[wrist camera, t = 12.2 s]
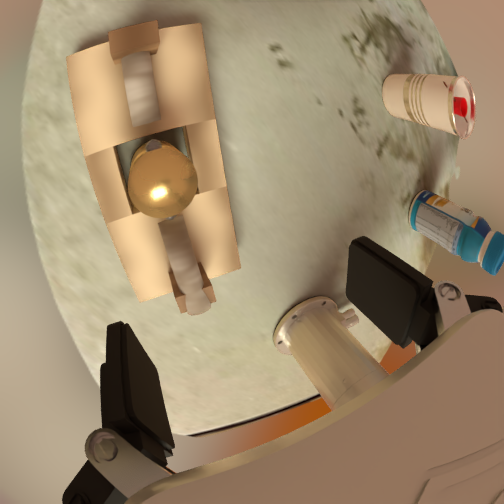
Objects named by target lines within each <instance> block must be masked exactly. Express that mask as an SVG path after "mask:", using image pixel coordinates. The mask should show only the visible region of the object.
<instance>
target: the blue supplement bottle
mask: <svg viewBox="0 0 504 504" xmlns="http://www.w3.org/2000/svg"><path fill="white" fill-rule="evenodd" d="M409 224H410V226H411V227H412V228H413V229H414V230H416V231H418V232H420V233H422V234H423V235H425V236H427V237H428V238H430V239H432V240H433V241H435V242H436V243H438V244H439V245H441V246H443V247H444V248H446V249H447V250H448V251H449V252H450V253H452V254H454V255H460V256H461V258H462V260H464V261H467V262H481V267H482V268H483V269H484V270H486V271H487V272H489V273H490V274H492V275H496V274H497V273H498V271H499V269H500V267H501V266H502V264H503V262H504V235H503V234H501V233H500V232H498V231H495V232H494V233H492V231H491V228H490V227H489V225H488V223H487V222H486V221H485V220H484V219H483V218H482V217H480V216H475V215H474V213H473V212H472V211H471V210H469V209H466V208H463V207H461V206H459V205H457V204H455V203H453V202H451V201H449V200H447V199H445V198H443V197H441V196H438V195H436V194H434V193H432V192H430V191H428V190H423V191H421V192H419V193H418V194H417V195H416V197H415V198H414V200H413V202H412V204H411V207H410V211H409Z"/></svg>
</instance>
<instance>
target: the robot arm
mask: <svg viewBox="0 0 504 504" xmlns="http://www.w3.org/2000/svg"><path fill="white" fill-rule="evenodd" d="M432 283H433V281H432V280H431V279H429V278H428V277H426V276H425V275H423V274H422V273H421V272H419V271H418V270H416V269H415V268H413V267H412V266H410V265H409V264H407V263H406V262H404V261H403V260H401V259H400V258H398V257H397V256H395V255H394V254H392V253H391V252H389V251H388V250H386V249H385V248H383V247H382V246H380V245H378V244H377V243H375V242H374V241H372V240H370V239H369V238H367V237H365V236H362V237H359V238H357V239H354V240H352V242H351V245H350V246H349V257H348V271H347V283H346V296H347V298H348V300H349V301H350V302H352V303H353V304H354V305H355V306H356V307H357V308H358V309H359V310H360V311H361V312H362V313H363V314H364V315H365V316H366V317H367V318H369V319H370V320H371V321H372V322H373V323H374V324H375V325H376V326H377V327H378V328H379V329H380V330H381V331H382V332H383V333H384V334H385V335H386V336H387V337H388V338H389V339H390V340H391V341H393V342H394V343H395V344H397V345H400V346H401V347H402V348H405V347H406V346H408V345H409V344H410V343H411V342H412V340H413V341H414V342H415V346H416V356H415V357H413V358H412V359H411V360H409V361H408V362H407V363H405V364H404V365H403V366H401V367H400V368H399V369H397V370H396V371H395V372H393V373H392V374H390V375H389V374H388V373H387V371H385V369H384V368H383V367H382V366H381V365H380V364H379V363H378V362H377V361H376V360H375V359H374V358H373V356H372V355H371V354H370V353H369V352H368V351H367V350H366V349H365V348H364V347H363V346H362V345H361V344H360V342H359V341H358V340H357V339H356V338H355V337H354V336H353V335H352V334H351V333H350V332H349V331H348V330H347V328H349V327H352V326H354V325H355V324H357V323H359V318H358V316H357V315H356V314H355V311H354V310H353V309H352V308H351V309H349V310H347V311H345V312H344V313H339V312H338V307H337V305H336V304H335V302H334V301H333V300H331V299H330V298H328V297H323V296H320V297H314V298H310V299H308V300H306V301H303V302H302V303H300V304H298V305H297V306H295V307H294V308H293V309H291V310H290V311H289V312H288V313H287V314H286V315H285V316H284V317H283V318H282V320H281V321H280V323H279V324H278V326H277V328H276V330H275V332H274V337H273V340H274V345H275V347H276V348H277V349H278V351H279V352H281V353H283V354H286V355H293V356H294V358H295V359H296V361H297V362H298V364H299V365H300V366H301V368H302V369H303V371H304V372H305V374H306V375H307V376H308V378H309V379H310V381H311V382H312V383H313V385H314V386H315V388H316V389H317V390H318V392H319V393H320V395H321V396H322V397H323V399H324V400H325V402H326V403H327V404H328V406H329V407H330V408H331V410H332V412H330V413H328V414H327V415H325V416H323V417H321V418H319V419H317V420H315V421H313V422H311V423H309V424H307V425H305V426H303V427H301V428H299V429H297V430H295V431H293V432H291V433H289V434H286V435H284V436H282V437H280V438H277V439H275V440H273V441H270V442H268V443H265V444H263V445H261V446H258V447H255V448H253V449H250V450H247V451H245V452H242V453H239V454H236V455H234V456H231V457H228V458H225V459H222V460H219V461H216V462H213V463H209V464H206V465H203V466H199V467H196V468H193V469H190V470H187V471H183V472H180V473H176V472H174V471H173V470H171V469H170V468H168V467H167V466H166V465H167V464H168V463H167V460H166V457H170V456H173V453H172V450H171V449H173V448H175V444H174V440H173V437H172V433H171V429H170V425H169V421H168V417H167V413H166V409H165V404H164V400H163V395H162V390H161V386H160V381H159V375H158V372H157V369H156V367H155V365H154V364H153V362H152V361H151V359H150V358H149V356H148V355H147V353H146V352H145V350H144V349H143V347H142V345H141V344H140V342H139V341H138V339H137V337H136V336H135V334H134V332H133V331H132V329H131V327H130V326H129V324H128V323H126V324H124V323H123V322H122V321H119V322H116V323H113V324H110V325H108V326H107V338H106V363H103V364H102V365H101V368H100V393H101V415H102V428H99V429H97V430H94V431H93V432H92V433H91V434H90V435H89V436H88V438H87V440H86V443H85V453H86V457H87V458H88V460H87V462H86V463H85V465H84V466H83V467H82V468H81V470H80V471H79V472H78V474H77V475H76V476H75V478H74V479H73V480H72V482H71V483H70V485H69V486H68V487H67V489H66V490H65V492H64V494H63V498H62V501H63V504H504V307H501V305H500V304H499V303H498V302H497V300H496V299H494V298H491V297H485V296H474V295H464V292H463V290H462V289H461V288H460V287H459V286H458V285H457V284H455V283H453V282H450V281H440V282H438V283H437V284H436V285H435V288H432Z"/></svg>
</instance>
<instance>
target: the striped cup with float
mask: <svg viewBox="0 0 504 504" xmlns="http://www.w3.org/2000/svg"><path fill="white" fill-rule="evenodd" d="M382 97H383V102H384V105H385V107H386V109H387V111H388V112H389V113H390V114H391V115H392V116H394V117H397V118H401V119H405V120H409V121H412V122H416V123H419V124H422V125H425V126H429V127H432V128H435V129H439V130H442V131H446V132H449V133H452V134H454V135H457V136H459V137H460V138H461V139H467V138H468V137H469V136H470V135H471V133H472V131H473V128H474V124H475V119H476V102H475V96H474V92H473V89H472V86H471V84H470V82H469V81H468V79H467V78H466V77H464V76H459V77H456V76H445V75H434V74H391V75H389V76H388V77H387V78H386V79H385V81H384V83H383V87H382Z"/></svg>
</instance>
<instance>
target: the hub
mask: <svg viewBox="0 0 504 504" xmlns="http://www.w3.org/2000/svg"><path fill="white" fill-rule="evenodd" d="M197 186H198V177H197V172H196V169H195V167H194V165H193V164H192V162H191V161H190V160H189V159H188V158H187V157H186V156H185V155H184V154H183V153H181V152H180V151H179V150H178V149H176V148H175V147H174V146H173V145H172V144H170V143H168V142H166V141H162V140H156V139H152V140H150V141H148V142H147V143H145V144H143V145H142V146H140V147H139V148H138V149H137V151H136V152H135V153H134V155H133V158H132V161H131V167H130V173H129V179H128V192H129V196H130V199H131V201H132V203H133V204H134V206H135V207H136V208H137V209H138V210H139V211H140V212H142V213H143V214H145V215H147V216H150V217H153V218H165V219H167V220H173V219H174V218H175V217H176V216H177V214H178V213H180V212H182V211H183V210H184V209H185V208H187V207H188V205H189V204H190V203H191V202H192V200H193V198H194V196H195V194H196V191H197Z"/></svg>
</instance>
